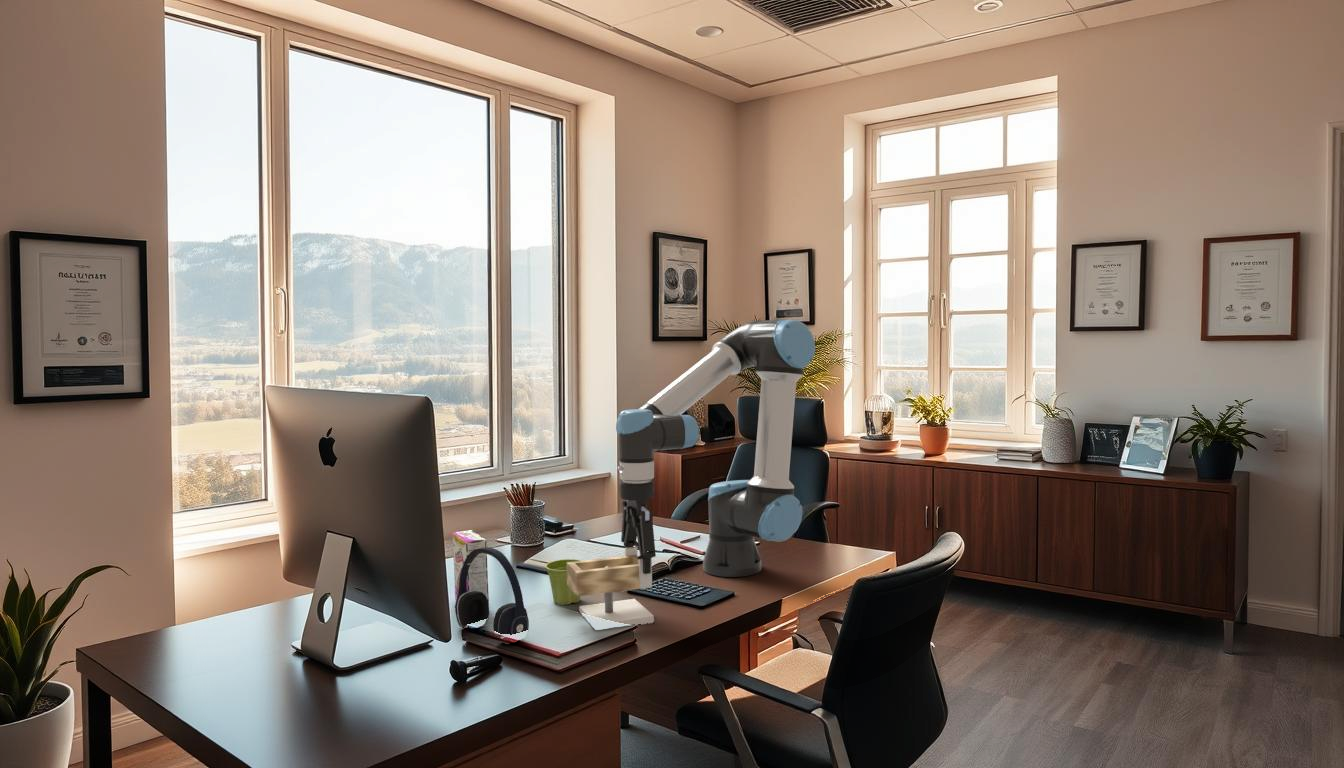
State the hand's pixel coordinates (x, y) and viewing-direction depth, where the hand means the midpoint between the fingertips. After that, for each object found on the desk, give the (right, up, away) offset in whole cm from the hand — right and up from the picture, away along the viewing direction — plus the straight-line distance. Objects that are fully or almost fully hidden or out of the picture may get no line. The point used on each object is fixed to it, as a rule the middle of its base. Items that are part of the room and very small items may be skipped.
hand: (638, 581), depth 193 cm
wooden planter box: (-7, 0, -2) cm, 7 cm away
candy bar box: (-39, -8, +9) cm, 41 cm away
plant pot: (-17, -7, +11) cm, 22 cm away
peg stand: (-5, -8, -1) cm, 9 cm away
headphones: (-30, -9, -11) cm, 33 cm away
